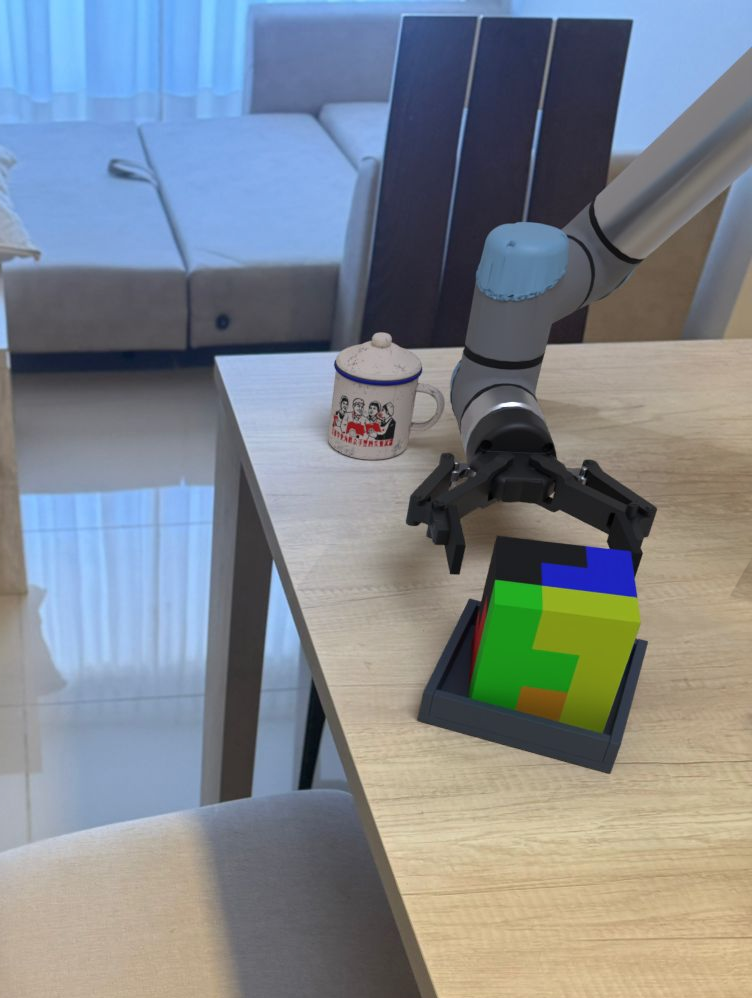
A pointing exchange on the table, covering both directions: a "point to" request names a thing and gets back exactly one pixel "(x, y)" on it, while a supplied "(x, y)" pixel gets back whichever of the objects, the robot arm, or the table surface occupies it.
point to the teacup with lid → (377, 399)
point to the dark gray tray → (517, 729)
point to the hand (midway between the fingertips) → (545, 564)
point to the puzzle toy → (554, 630)
